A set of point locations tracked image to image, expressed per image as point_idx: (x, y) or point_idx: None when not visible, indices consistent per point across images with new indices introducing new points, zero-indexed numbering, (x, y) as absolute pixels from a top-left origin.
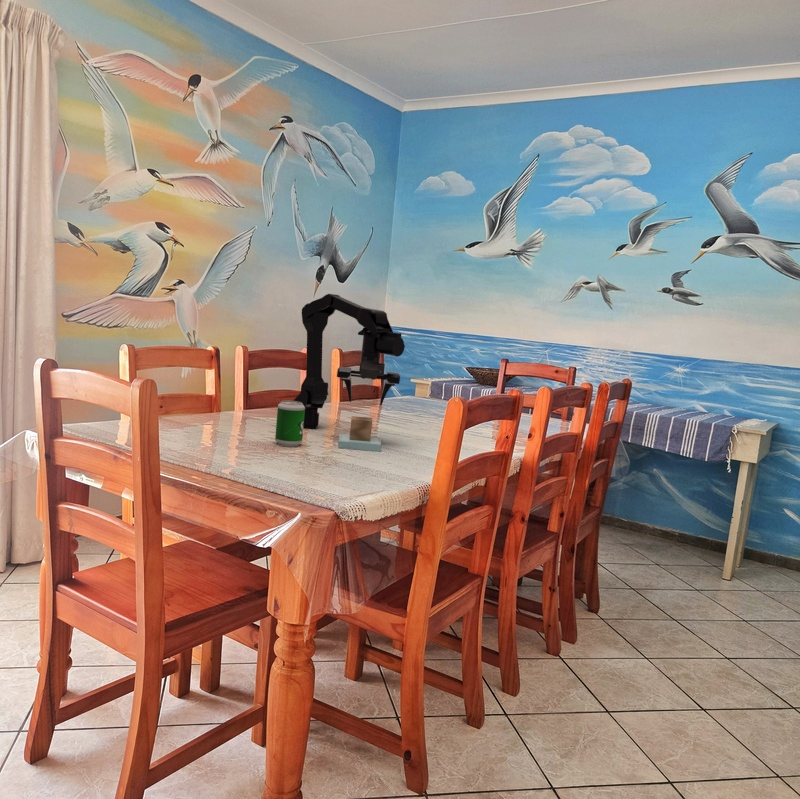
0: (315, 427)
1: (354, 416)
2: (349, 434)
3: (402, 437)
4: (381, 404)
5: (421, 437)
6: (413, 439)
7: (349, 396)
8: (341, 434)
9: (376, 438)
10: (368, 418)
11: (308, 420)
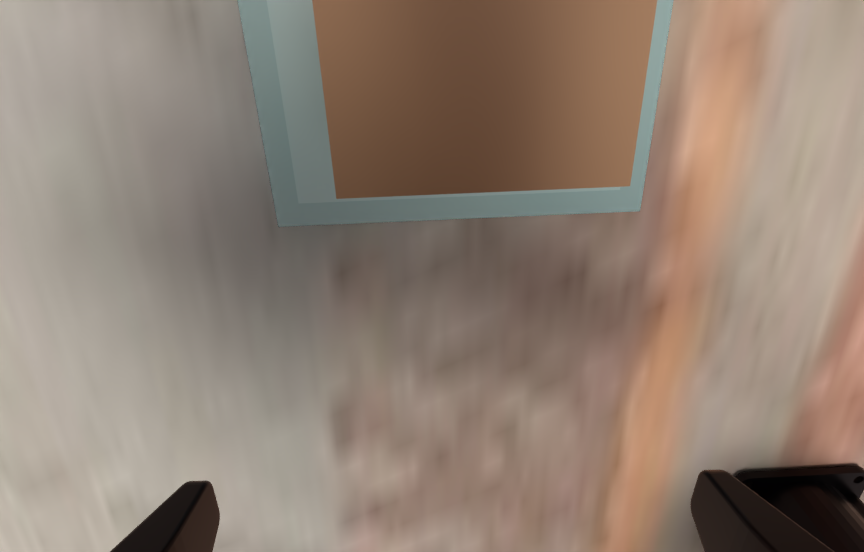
0: (744, 479)
1: (589, 173)
2: (553, 209)
3: (165, 486)
4: (180, 487)
5: (53, 535)
6: (81, 462)
7: (798, 534)
8: None
9: (294, 125)
10: (380, 108)
11: (819, 516)
